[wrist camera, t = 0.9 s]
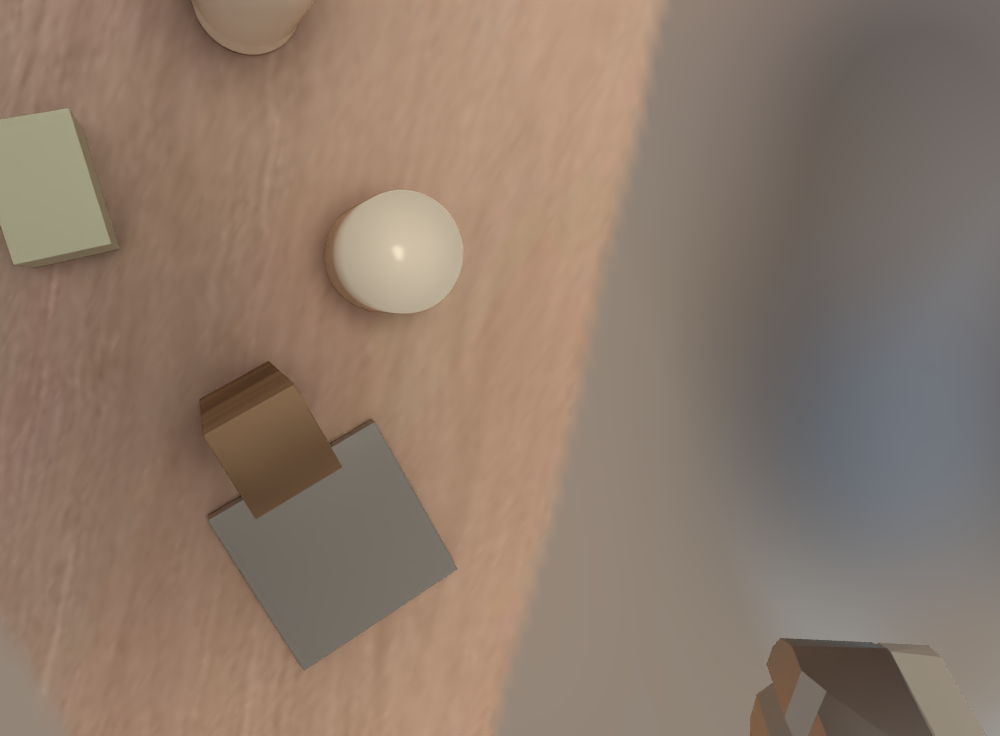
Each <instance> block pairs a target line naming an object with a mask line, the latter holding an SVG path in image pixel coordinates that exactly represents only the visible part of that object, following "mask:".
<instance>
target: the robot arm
mask: <svg viewBox="0 0 1000 736" xmlns="http://www.w3.org/2000/svg"><path fill="white" fill-rule="evenodd" d="M767 667H768V670H769V673H770V676H771V679H772V682H773V683H772V684H770V685H769V686H767V687H766V688H765V689H763V690H762V691H761V692H759V693H758V694H757V695H756V699H755V702H754V706H753V710H752V713H751V718H750V736H986V735H985V733H984V731H983V729H982V728H981V726H980V724H979V723H978V721H977V719H976V717H975V716H974V714H973V712H972V710H971V709H970V707H969V705H968V703H967V702H966V700H965V698H964V697H963V695H962V693H961V691H960V690H959V688H958V686H957V684H956V683H955V681H954V679H953V678H952V676H951V674H950V672H949V671H948V669H947V667H946V665H945V664H944V662H943V660H942V659H941V657H940V655H939V654H938V653H937V652H936V651H935V650H933V649H932V648H931V647H930V646H928V645H911V644H890V643H878V644H875V643H872V642H853V641H832V640H811V639H789V638H780V639H779V640H778V641H777V642H776V644H775V645H774V646H773V647H772V650H771V653H770V656H769V659H768V662H767Z"/></svg>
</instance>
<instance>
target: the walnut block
mask: <svg viewBox="0 0 1000 736" xmlns="http://www.w3.org/2000/svg"><path fill="white" fill-rule="evenodd" d="M200 408H201V418H202V428H203V436H204V438H205V439H206V441H207V442H208V444H209V446H210V447H211V449H212V451H213V452H214V454H215V455H216V457H217V459H218V460H219V462H220V463H221V465H222V467H223V468H224V470H225V471H226V473H227V475H228V476H229V478H230V479H231V481H232V483H233V484H234V486H235V487H236V489H237V491H238V492H239V494H240V495H241V497H242V499H243V500H244V502H245V503H246V505H247V507H248V508H249V510H250V511H251V513H252V515H253V516H254V518H255V519H257V518H259V517H261V516H262V515H264V514H266V513H267V512H269V511H271V510H272V509H274V508H276V507H277V506H279V505H281V504H282V503H284V502H286V501H287V500H289V499H291V498H292V497H294V496H296V495H297V494H299V493H301V492H302V491H304V490H306V489H307V488H309V487H311V486H312V485H314V484H316V483H317V482H319V481H321V480H322V479H324V478H326V477H327V476H329V475H331V474H332V473H334V472H336V471H337V470H339V469H341V468H342V465H341V463H340V462H339V460H338V458H337V456H336V455H335V453H334V451H333V450H332V448H331V446H330V444H329V443H328V441H327V439H326V438H325V436H324V434H323V432H322V431H321V429H320V427H319V426H318V424H317V422H316V420H315V419H314V417H313V415H312V414H311V412H310V410H309V408H308V407H307V405H306V403H305V402H304V400H303V398H302V396H301V395H300V393H299V391H298V390H297V388H296V386H295V384H294V383H292V382H291V381H290V380H289V379H288V378H287V377H286V376H284V375H283V374H282V373H281V372H280V371H279V370H278V369H277V368H275V367H274V366H273V365H272V364H271V363H270V362H269V361H268V362H266V363H265V364H263V365H261V366H259V367H257V368H255V369H254V370H252V371H250V372H248V373H246V374H245V375H243V376H241V377H239V378H237V379H235V380H234V381H232V382H230V383H228V384H226V385H225V386H223V387H221V388H219V389H217V390H215V391H214V392H212V393H210V394H208V395H206V396H205V397H203V398H201V399H200Z"/></svg>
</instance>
